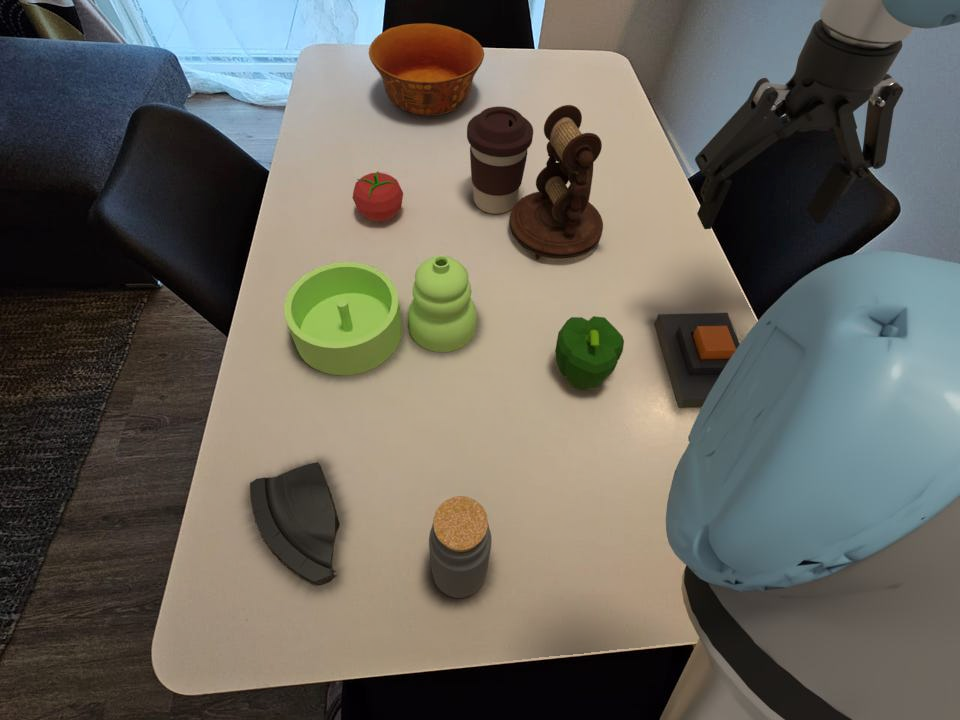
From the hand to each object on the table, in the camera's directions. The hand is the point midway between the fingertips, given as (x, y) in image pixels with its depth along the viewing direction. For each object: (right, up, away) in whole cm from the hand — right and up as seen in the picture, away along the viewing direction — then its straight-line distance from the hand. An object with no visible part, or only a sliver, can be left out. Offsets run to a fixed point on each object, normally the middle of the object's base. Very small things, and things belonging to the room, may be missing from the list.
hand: (759, 219), depth 67 cm
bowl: (-43, +34, +45) cm, 71 cm away
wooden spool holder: (-21, +4, +25) cm, 33 cm away
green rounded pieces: (-46, -12, +12) cm, 49 cm away
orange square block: (-3, -15, +8) cm, 17 cm away
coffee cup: (-31, +10, +29) cm, 43 cm away
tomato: (-49, +7, +26) cm, 56 cm away
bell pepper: (-20, -18, +9) cm, 28 cm away
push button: (-3, -17, +11) cm, 20 cm away
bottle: (-35, -39, -6) cm, 53 cm away
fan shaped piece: (-54, -35, -4) cm, 64 cm away
